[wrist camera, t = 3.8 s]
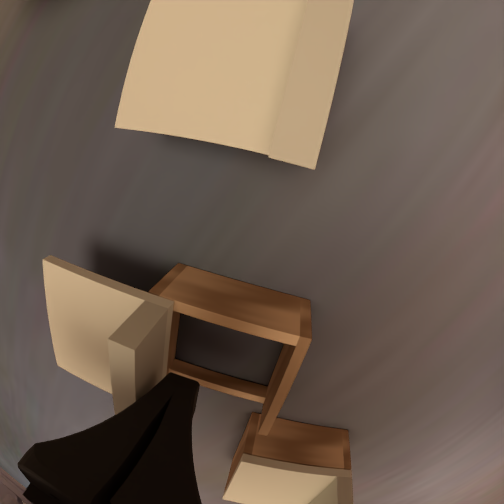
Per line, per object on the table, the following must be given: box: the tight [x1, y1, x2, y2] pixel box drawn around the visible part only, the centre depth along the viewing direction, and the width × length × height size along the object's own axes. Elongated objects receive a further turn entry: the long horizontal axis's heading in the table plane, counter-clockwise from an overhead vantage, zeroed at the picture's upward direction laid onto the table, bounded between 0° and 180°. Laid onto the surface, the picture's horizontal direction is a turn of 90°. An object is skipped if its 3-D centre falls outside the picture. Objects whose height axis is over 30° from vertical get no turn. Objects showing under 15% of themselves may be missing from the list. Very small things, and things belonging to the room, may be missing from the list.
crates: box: [148, 263, 351, 492], centre depth 13 cm, size 15×29×3 cm, turn 166°
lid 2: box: [115, 0, 354, 170], centre depth 7 cm, size 7×7×3 cm
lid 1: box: [43, 255, 174, 415], centre depth 11 cm, size 7×7×3 cm
